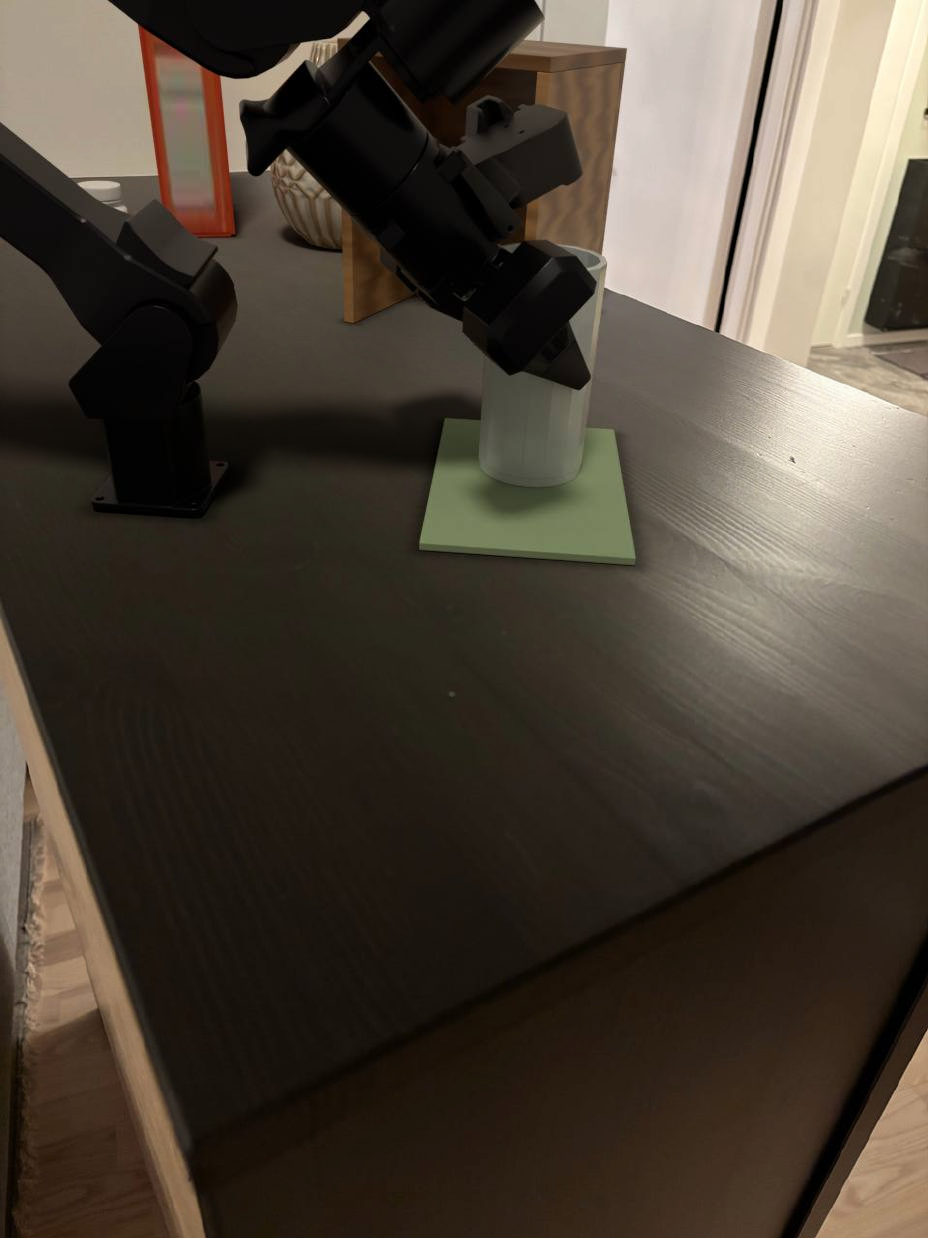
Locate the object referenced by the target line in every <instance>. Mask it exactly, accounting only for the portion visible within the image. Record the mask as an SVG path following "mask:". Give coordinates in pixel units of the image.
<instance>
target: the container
mask: <svg viewBox="0 0 928 1238" xmlns="http://www.w3.org/2000/svg"><path fill="white" fill-rule="evenodd" d="M520 244H521V243H514V244H508V245H503V246H502V247H504V248H505V249H507V250H509V251H510V252H512V253H513V252H514V250H515V249H516V248H517V247H518V246H519V245H520ZM554 244H555V243H554ZM556 245H558V246H559V247H561V248H563V249H565V250H567V251H568V252H570V253H572V254H574V255H576V256H577V257H578V258H579V260H580V261H581V262H582V264H583V265H584V266H585V267H586V269H587V270H588V271H589V272H590V274H591V275H592V276H593V277H594V279H595V280H596V281H597V285H596V289H595V293H594V295H593V296H592V297H591V298H590V299H589V300H588V301H587V302H586V303H585V304H584V305H583V306H582V308H581V309H580V310H579V311H578V312H577V313H576V314H575V315H574V316H573V317H572V318H571V319H570V320H569V322H570V325H571V328H572V330H573V333H574V335H575V338H576V340H577V343H578V345H579V348H580V350H581V352H582V355H583V357H584V360H585V362H586V364H587V367H588V369H589V372H590V374H591V379H590V381H589V382H588V383H587V384H586V385H585V386H584V387H583V388H582V389H581V390H575V389H572V388H569V387H566V386H563V385H561V384H558V383H555V382H552V381H549V380H546V379H543V378H541V377H537V376H534V375H531V374H528V373H525V372H519V373H517V374H514V375H511V376H509V375H507V374H506V373H505V372H504V371H503V370H502V369H500V368H499V367H498V366H497V365H496V364H495V363H493V362H492V361H491V360H490V359H489V358H488V357H487V356H486V355H485V354H483V355H484V357H483V371H482V389H481V405H480V435H479V455H478V464H479V467H480V468H481V470H482V471H483V472H484V473H485V474H487V475H488V476H490V477H491V478H493V479H496V480H498V481H501V482H503V483H507V484H511V485H516V486H522V487H537V488H538V487H552V486H557V485H561V484H564V483H567V482H569V481H571V480H573V479H574V478H575V477H576V476H577V475H578V473H579V471H580V465H581V463H582V456H583V448H584V440H585V432H586V428H587V424H588V416H589V408H590V402H591V401H590V400H591V393H592V385H593V377H594V370H595V362H596V356H597V355H596V354H597V345H598V339H599V331H600V322H601V315H602V308H603V299H604V292H605V285H606V278H607V277H606V276H607V270H608V269H607V268H608V261H607V259H606V257H605V256H604V255H603V254H602V255H600V254H598V253H596V252H594V251H591V250H587V249H584V248H580V247H576V246H569V245H563V244H556ZM492 265H494V264H492ZM495 267H497V266H495Z"/></svg>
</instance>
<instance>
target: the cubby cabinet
mask: <svg viewBox="0 0 928 1238" xmlns="http://www.w3.org/2000/svg"><path fill="white" fill-rule="evenodd" d="M352 37H353V36H352ZM352 37H337V39H336V40H337V49H338V51H339V50H340V49H341V48H342V47H343V46H344V45H345V44H346V43H347V42H348V41H349V40H350V39H351V38H352ZM627 53H628V48H627V47H618V46H617V47H616V46H605V45H594V44H593V45H592V44H591V45H590V44H581V43H567V42H556V41H543V40H532V39H531V40H530V39H524V40H523V41H522V42H521V43H520V44H519V45H518V46H517V47H516V48H515V49H514V50H513V51H512V52H511V53H510V54H509V55H508V56H507V57H506V58H505V59H504V60H503V61H502V62H501V63H500V64H498V65H497V66H496V67H495V68H494V69H493V70H492V71H491V72H490V73H489V74H488V75H487V76H486V77H485V78H484V79H483V80H482V81H481V82H480V83H479V84H478V85H477V86H476V87H475V88H474V89H473V90H472V91H471V92H470V93H469V94H468V95H467V96H466V97H465V98H464V99H463V100H462V101H461V102H460V103H459V104H458V105H457V106H454V105H453V104H452V103H451V102H450V101H449V100H448V99H447V98H446V97H445V95H444V94H443V93H442V94H441V95H440V96H439V97H438V98H437V99H436V100H435V101H434V100H433V99H431V100H430V101H429V102H428V103H427V104H426V105H423V104H422V103H421V102H420V101H419V100H418V99H417V98H416V97H415V96H414V94H413V93H412V92H411V91H410V90H409V89H408V87H407V86H406V85H405V84H404V82H403V81H402V80H401V79H400V78H399V76H398V75H397V74H396V72H395V71H394V70H393V69H392V67H391V66H390V65H389V63H388V62H387V61H386V60H385V58H384V57H383V56H382V55H381V53H380V52H378V53H377V54H376V55H375V56H374V57H373V58H372V59H371V60H370V61H371V63H372V64H373V65H374V66H375V67H376V69H377V70H378V71H379V72H380V74H381V75H382V76H383V77H384V78H385V80H386V81H387V82H388V83H389V84H390V86H391V87H392V88H393V89H394V90H395V92H396V93H397V94H398V95H399V96H400V98H401V99H402V100H403V101H404V102H405V104H406V105H407V106H408V107H409V108H410V110H411V111H412V112H413V113H414V115H415V116H416V117H417V118H418V119H419V121H420V122H421V123H422V124H423V125H424V127H425V128H426V129H427V130H428V131H429V132H430V133H431V135H432V136H433V137H434V138H436V139H438V140H439V141H440V142H441V144H442V145H444V146H446V147H448V148H450V149H451V148H452V146H454V147H458V146H459V145H461V144H462V143H461V140H460V138H462V137H464V136H465V129H466V114H467V107H468V106H469V105H471V104H472V103H474V102H476V101H478V100H480V99H481V98H483V97H485V96H487V95H490V96H493V97H496V98H499V99H501V100H503V101H504V102H505V103H506V104H507V105H508V107H509V108H510V109H511V110H512V111H513V112H514V113H515V112H517V111H518V110H517V107H518V106H520V105H522V104H524V105H527V106H531V105H536V104H541V105H545V106H548V107H551V108H555V109H558V110H562V111H565V112H566V113H567V114H568V118H569V122H570V125H571V129H572V132H573V136H574V140H575V143H576V147H577V150H578V154H579V158H580V161H581V165H582V169H583V175H582V176H581V177H580V178H579V179H578V180H577V181H575V182H574V183H572V184H570V185H568V186H565V185H561V186H559V187H557V188H555V189H554V190H552V191H550V192H548V193H546V194H545V195H543V196H541V197H539V198H537V199H536V200H534V201H532V202H530V203H529V204H527V205H525V206H523V207H520V208H517V209H514V210H513V211H514V212H515V214H516V215H517V216H518V217H519V218H520V220H521V221H522V224H521V225H520V226H519V227H518V228H517V229H516V230H515V231H514V232H513V234H512V235H511V236H510V237H509V238H508V239H506V240H504V239H502V240H501V241H500V242H499V245H501V246H503V245H508V244H514V243H522V242H523V241H525V240H548V241H550V242H552V243H555V244H563V245H569V246H576V247H580V248H584V249H587V250H591V251H594V252H596V253H598V254H600V255H602V256H603V248H604V240H605V233H606V224H607V216H608V210H609V209H608V208H609V202H610V201H609V200H610V191H611V183H612V175H613V167H614V158H615V150H616V142H617V134H618V126H619V118H620V110H621V102H622V93H623V87H624V86H623V84H624V78H625V77H624V76H625V71H626V60H627ZM350 218H351V216H350V215H349V214H348V213H347V212H346V211H345V210H344V209H343V208H342V247H343V250H342V280H343V281H342V282H343V312H344V313H343V321H344V323H345V322H346V323H350V324H355V323H357V322H359V321H361V320H363V319H365V318H368V317H370V316H372V315H374V314H376V313H378V312H381V311H382V310H386V309H387V308H389V307H391V306H393V305H395V304H398V303H399V302H402V301H404V300H406V299H408V298H410V297H413V296H414V295H417V291H418V289H419V288H416V289H415V291H414V292H413V293H412V292H411V291H410V290H409V289H407V288H406V287H405V286H404V285H403V284H402V283H401V282H399V281H398V280H397V279H396V278H395V276H394V275H393V274H392V273H391V272H390V271H389V270H388V269H387V268H386V267H385V266H384V265H383V264H382V263H381V262H380V246H379V245H378V244H377V243H376V242H375V241H374V240H372V239H371V238H370V237H368V236H367V235H366V234H365V233H363V232H362V231H361V230H360V229H359V228H358V227H357V225H356V224H355V223H354V222H353V221H352V220H351V219H350Z"/></svg>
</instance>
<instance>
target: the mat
mask: <svg viewBox="0 0 928 1238" xmlns="http://www.w3.org/2000/svg"><path fill="white" fill-rule="evenodd" d="M479 435H480V420H479V419H466V418H451V417H445V418H444V421H443V425H442V431H441V436H440V440H439V446H438V450H437V455H436V461H435V464H434V470H433V475H432V480H431V484H430V489H429V493H428V497H427V498H428V500H427V504H426V509H425V512H424V517H423V521H422V527H421V532H420V537H419V542H418V550H419V551H427V552H439V553H440V552H442V553H453V554H454V553H455V554H468V555H470V554H471V555H485V556H497V557H511V558H525V559H539V560H540V559H541V560H552V561H553V560H555V561H565V562H566V561H567V562H581V563H582V562H584V563H595V564H610V565H611V564H612V565H622V566H624V565H625V566H635V565H636V561H637V557H636V550H635V544H634V539H633V533H632V527H631V522H630V516H629V509H628V504H627V499H626V493H625V486H624V480H623V474H622V468H621V462H620V455H619V451H618V445H617V439H616V432H615V429H614V428H600V427H599V428H597V427H586V432H585V440H584V448H583V456H582V463H581V465H580V471H579V473H578V475H577V476H576V477H575V478H574V479H573V480H571V481H569V482H567V483H564V484H561V485H557V486H552V487H538V488H537V487H522V486H516V485H511V484H507V483H503V482H501V481H498V480H496V479H493V478H491V477H490V476H488V475H487V474H485V473H484V472H483V471H482V470H481V468H480V467H479V464H478V455H479Z"/></svg>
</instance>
